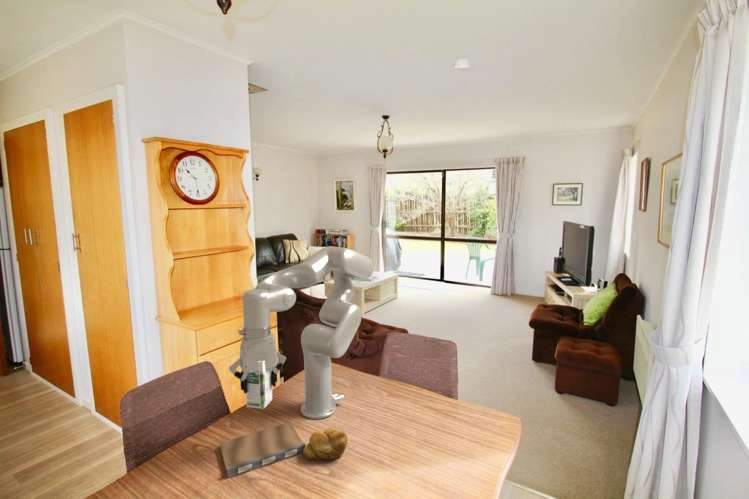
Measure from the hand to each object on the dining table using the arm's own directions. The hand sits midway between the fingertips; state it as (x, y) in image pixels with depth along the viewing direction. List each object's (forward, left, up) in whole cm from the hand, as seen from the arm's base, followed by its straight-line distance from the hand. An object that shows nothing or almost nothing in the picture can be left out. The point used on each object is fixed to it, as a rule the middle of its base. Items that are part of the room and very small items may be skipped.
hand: (259, 387), depth 113 cm
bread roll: (-16, +12, -20) cm, 28 cm away
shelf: (0, +1, -19) cm, 19 cm away
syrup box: (0, 0, -5) cm, 5 cm away
